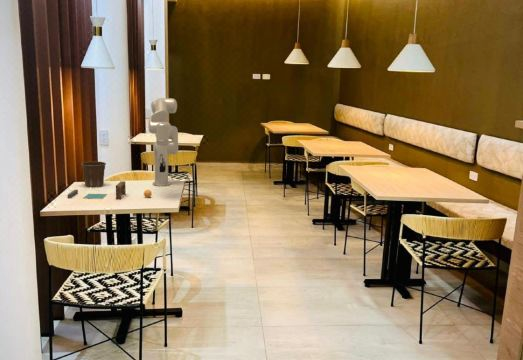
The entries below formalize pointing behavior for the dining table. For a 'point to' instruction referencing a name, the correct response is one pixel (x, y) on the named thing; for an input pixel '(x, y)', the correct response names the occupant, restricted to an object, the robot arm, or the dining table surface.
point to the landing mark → (95, 196)
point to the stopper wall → (73, 193)
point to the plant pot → (93, 173)
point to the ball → (147, 193)
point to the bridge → (120, 189)
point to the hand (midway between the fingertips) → (162, 171)
